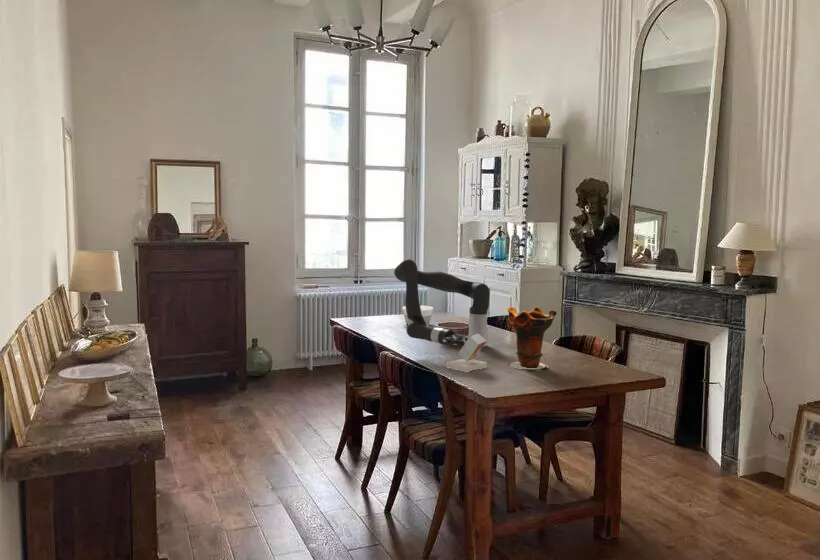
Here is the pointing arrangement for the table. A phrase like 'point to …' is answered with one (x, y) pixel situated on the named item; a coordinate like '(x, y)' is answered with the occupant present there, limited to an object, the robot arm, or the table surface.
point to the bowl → (425, 312)
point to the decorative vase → (530, 335)
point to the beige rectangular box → (466, 364)
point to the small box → (472, 347)
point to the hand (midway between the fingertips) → (469, 342)
